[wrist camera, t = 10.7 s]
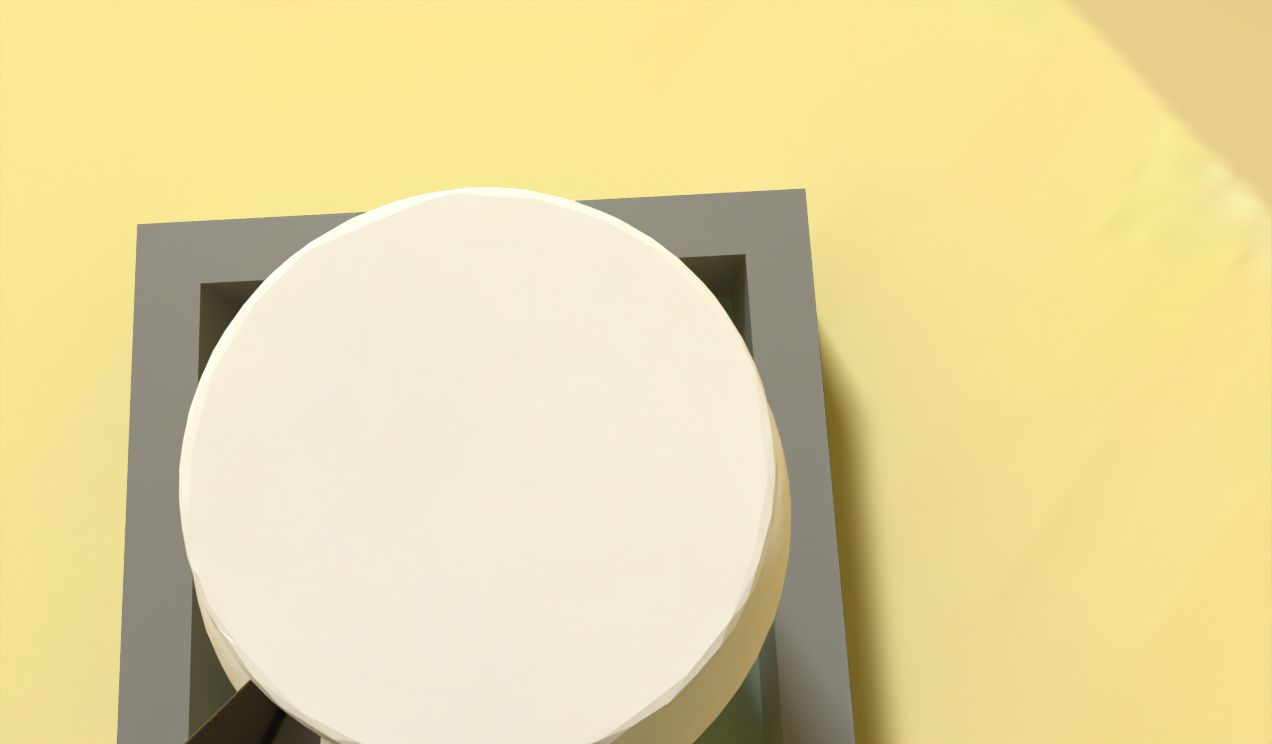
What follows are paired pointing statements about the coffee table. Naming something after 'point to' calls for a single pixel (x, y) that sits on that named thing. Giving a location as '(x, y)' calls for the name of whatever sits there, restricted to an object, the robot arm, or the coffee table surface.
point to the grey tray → (684, 224)
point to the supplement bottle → (486, 482)
